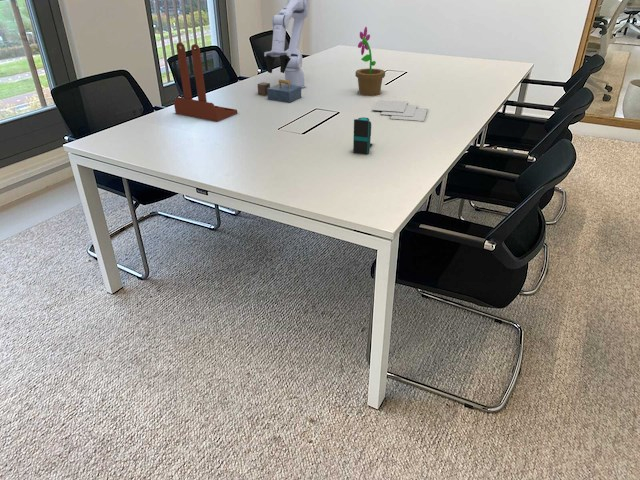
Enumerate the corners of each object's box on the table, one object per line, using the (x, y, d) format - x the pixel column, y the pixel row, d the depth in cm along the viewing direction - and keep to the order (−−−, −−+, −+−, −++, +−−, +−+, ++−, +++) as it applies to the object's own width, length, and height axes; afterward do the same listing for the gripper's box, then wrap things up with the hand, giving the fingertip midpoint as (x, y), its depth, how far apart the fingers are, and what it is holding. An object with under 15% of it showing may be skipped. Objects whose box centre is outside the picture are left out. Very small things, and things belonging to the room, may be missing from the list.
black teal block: (376, 112, 175) (369, 121, 167) (375, 144, 182) (368, 154, 174) (361, 111, 177) (353, 119, 169) (360, 143, 183) (352, 152, 175)
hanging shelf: (237, 113, 217) (230, 40, 202) (217, 121, 208) (208, 46, 192) (196, 105, 228) (186, 36, 212) (175, 113, 218) (163, 41, 203)
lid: (280, 84, 242) (279, 76, 240) (301, 87, 236) (301, 79, 234) (267, 89, 234) (266, 81, 232) (289, 92, 228) (288, 84, 226)
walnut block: (263, 92, 247) (262, 82, 244) (270, 93, 245) (269, 83, 243) (258, 94, 244) (257, 84, 241) (265, 95, 242) (264, 85, 239)
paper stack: (429, 104, 225) (429, 102, 225) (423, 121, 204) (423, 119, 204) (378, 101, 231) (378, 99, 230) (368, 117, 210) (368, 115, 210)
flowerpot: (363, 88, 252) (365, 24, 236) (388, 91, 245) (392, 26, 230) (349, 94, 241) (351, 28, 226) (376, 98, 235) (379, 30, 219)
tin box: (280, 94, 244) (279, 85, 241) (301, 97, 238) (301, 87, 236) (267, 99, 236) (267, 89, 234) (289, 102, 231) (289, 93, 228)
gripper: (261, 40, 229) (258, 70, 232) (285, 39, 222) (282, 70, 224) (270, 44, 235) (268, 73, 237) (295, 43, 227) (292, 73, 230)
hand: (276, 72), depth 231 cm, fingers open, 7 cm apart
